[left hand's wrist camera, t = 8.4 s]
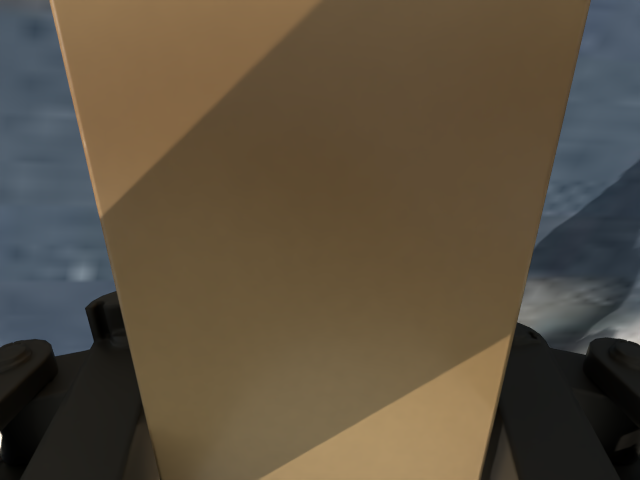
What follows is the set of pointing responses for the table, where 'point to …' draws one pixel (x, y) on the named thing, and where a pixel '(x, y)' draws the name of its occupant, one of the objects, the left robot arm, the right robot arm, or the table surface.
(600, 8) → the table surface
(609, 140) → the table surface
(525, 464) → the left robot arm
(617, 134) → the table surface
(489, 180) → the long box
